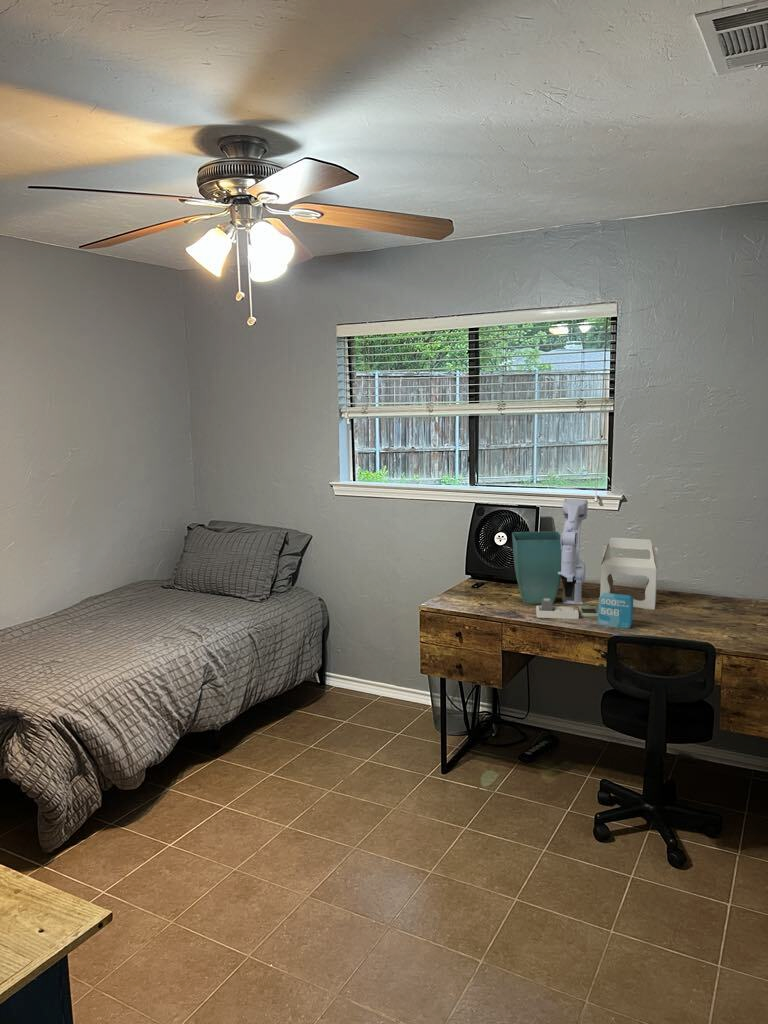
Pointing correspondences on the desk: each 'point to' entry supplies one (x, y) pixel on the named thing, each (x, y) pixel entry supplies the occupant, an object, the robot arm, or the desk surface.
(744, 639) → the desk surface
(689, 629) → the desk surface
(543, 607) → the twin plug
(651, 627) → the desk surface
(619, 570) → the gable box
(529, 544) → the flower pot
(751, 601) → the desk surface
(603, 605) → the data package
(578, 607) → the tray
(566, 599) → the plug
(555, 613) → the cream shallow box
